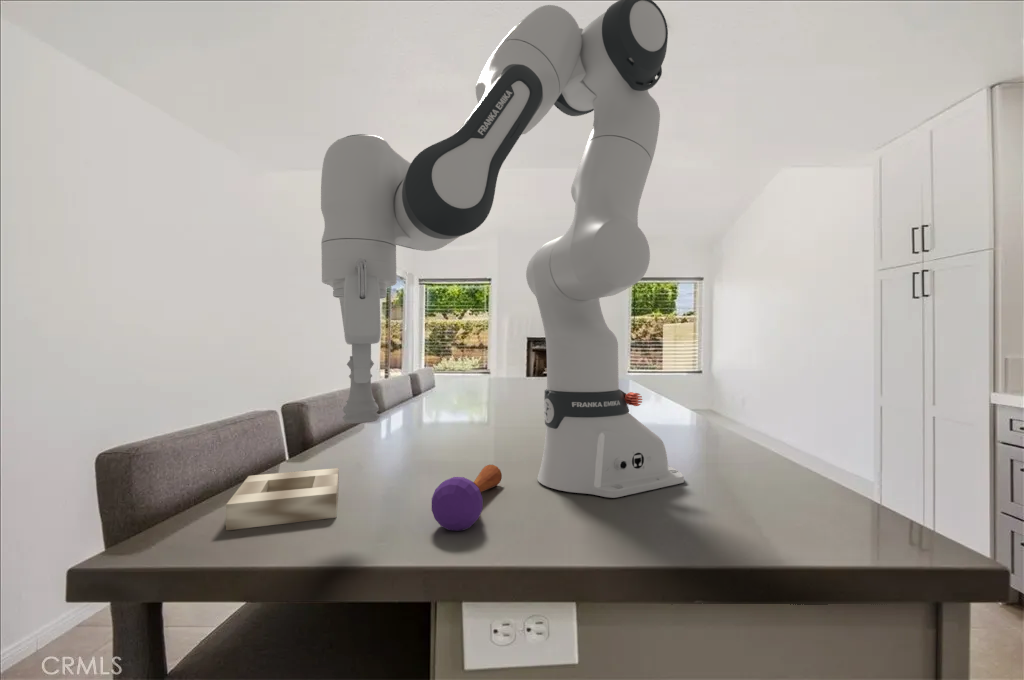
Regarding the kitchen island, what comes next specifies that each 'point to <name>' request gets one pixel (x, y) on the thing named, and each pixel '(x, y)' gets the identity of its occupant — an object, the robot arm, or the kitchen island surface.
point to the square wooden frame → (284, 499)
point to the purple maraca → (463, 499)
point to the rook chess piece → (360, 400)
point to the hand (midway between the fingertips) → (361, 381)
